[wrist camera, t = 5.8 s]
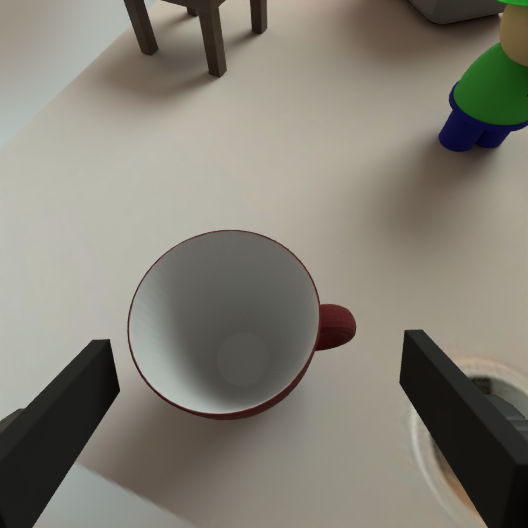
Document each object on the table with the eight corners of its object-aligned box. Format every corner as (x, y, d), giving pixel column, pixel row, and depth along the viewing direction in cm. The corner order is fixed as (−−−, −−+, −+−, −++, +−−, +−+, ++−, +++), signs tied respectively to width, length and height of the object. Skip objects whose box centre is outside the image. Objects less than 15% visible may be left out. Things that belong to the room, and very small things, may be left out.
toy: (450, 178, 29) (599, -36, 16) (409, 116, 33) (499, -97, 20) (539, 159, 30) (753, -60, 16) (488, 100, 34) (627, -115, 20)
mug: (315, 285, 25) (339, 201, 16) (355, 394, 21) (415, 366, 12) (178, 318, 24) (121, 250, 15) (194, 440, 20) (131, 445, 11)
